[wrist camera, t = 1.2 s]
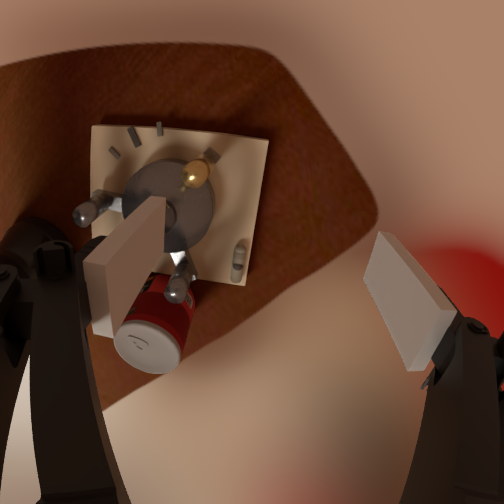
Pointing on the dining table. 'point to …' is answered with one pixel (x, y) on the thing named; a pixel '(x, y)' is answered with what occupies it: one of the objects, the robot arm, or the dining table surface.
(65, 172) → the dining table surface
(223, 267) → the stand
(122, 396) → the dining table surface
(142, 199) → the cam capstan
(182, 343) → the canned food
